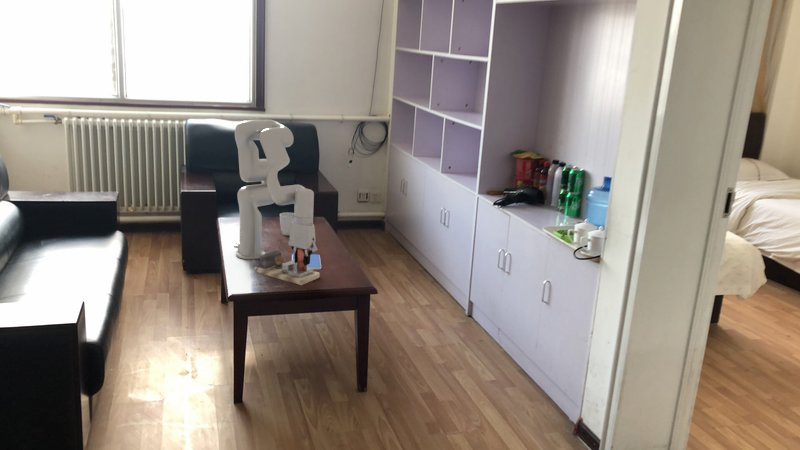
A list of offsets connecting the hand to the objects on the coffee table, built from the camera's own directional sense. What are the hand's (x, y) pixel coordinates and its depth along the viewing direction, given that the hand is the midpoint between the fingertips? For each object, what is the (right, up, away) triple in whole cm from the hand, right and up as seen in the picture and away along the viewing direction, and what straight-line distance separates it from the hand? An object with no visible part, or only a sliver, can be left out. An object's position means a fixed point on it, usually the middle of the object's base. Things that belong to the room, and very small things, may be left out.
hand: (302, 262), depth 276 cm
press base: (-6, -5, +5) cm, 10 cm away
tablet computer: (-1, -2, +22) cm, 23 cm away
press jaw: (-2, -4, +2) cm, 5 cm away
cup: (-16, +11, +61) cm, 64 cm away
